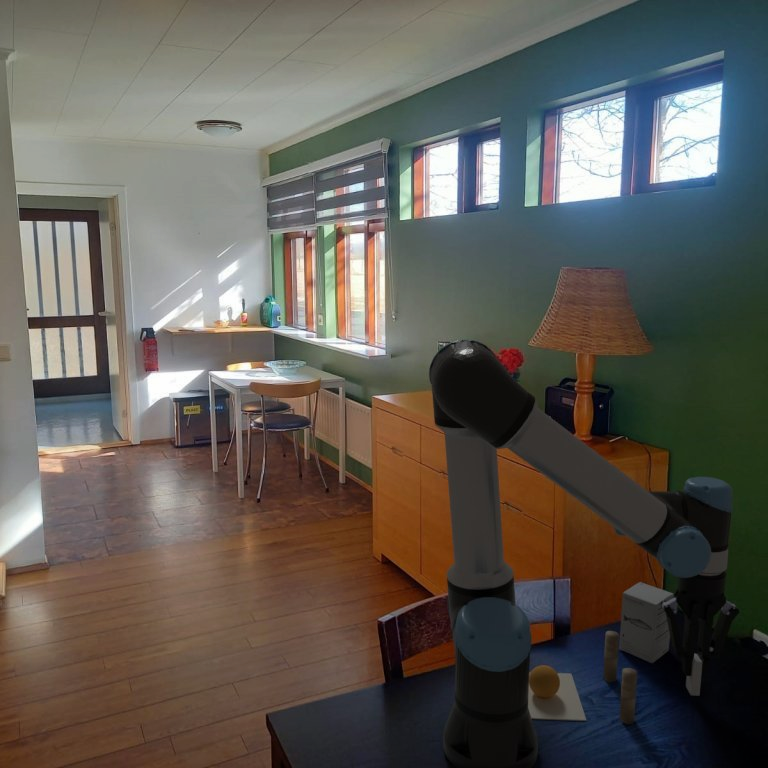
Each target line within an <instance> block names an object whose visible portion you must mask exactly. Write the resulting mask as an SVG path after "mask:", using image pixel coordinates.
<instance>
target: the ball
mask: <svg viewBox="0 0 768 768" xmlns="http://www.w3.org/2000/svg"><path fill="white" fill-rule="evenodd" d="M530 672H531V673H530V675H529V685H530V688H531V690H532V691H533V692H534V693H535V694H536V695H537V696H539V697H542V698H549V697H552V696H554V695H555V694H556V693H557V691H558V690H559V687H560V679H559V676H558V674H557V673H558V672H557V671H556V670H555V669H554V668H553V667H551V666H549V665H545V664H541V665H538V666H535V667H533V669H532V670H531V671H530Z"/></svg>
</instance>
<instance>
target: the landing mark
mask: <svg viewBox="0 0 768 768" xmlns="http://www.w3.org/2000/svg"><path fill="white" fill-rule="evenodd" d="M530 673H531V671H529V675H530ZM557 674H558V676H559V679H560V687H559V690H558V691H557V693H556V694H555V695H554V696H552V697H549V698H542V697H539V696H537V695H536V694H535V693H534V692H533V691H532V690H531V688H530V685H529V693H528V709H529V712H530V715H531V719H532V720H544V721H545V720H549V721H553V720H554V721H571V722H572V721H574V722H575V721H578V722H586V721H587V718H586V715H585V714H586V713H585V712H584V709H583V705H582V702H581V699H580V696H579V693H578V689H577V687H576V683H575V681H574V677H573V675H572V673H566V672H565V673H564V672H557Z"/></svg>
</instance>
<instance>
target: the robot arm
mask: <svg viewBox="0 0 768 768" xmlns="http://www.w3.org/2000/svg"><path fill="white" fill-rule="evenodd" d="M428 369H429V370H428V377H429V378H428V379H429V383H430V384H431V385H430V386H431V391H432V392H431V393H432V407H433V421H434V425H435V427H437V428H438V429H439V430H440V431H442V433H443V434H444V443H445V444H444V445H445V454H446V455H445V457H446V471H447V472H446V473H447V483H448V494H449V495H448V497H449V499H448V500H449V508H450V509H449V511H450V521H451V522H450V523H451V535H452V536H451V537H452V549H453V561H454V563H453V564H452V565H451V566H450V567H449V568H448V569H447V572H446V581H447V582H446V585H447V599H446V604H447V605H446V606H447V612H448V616H449V619H450V627H451V634H452V642H453V649H454V662H455V663H454V666H455V669H454V673H455V674H454V700H453V705H452V708H451V710H450V713H449V715H448V717H447V720H446V722H445V725H444V728H443V737H442V739H443V740H442V742H443V744H442V745H443V746H442V748H443V751H444V755H445V756H446V757H447V759H448V760H449V762H450V763H451V764H452V765H453V766H454V767H455V768H533V767H534V766H535V764H536V761H537V759H538V750H539V749H538V747H539V740H538V735H537V732H536V728H535V725H534V722H533V719H531V715H530V712H529V709H528V693H529V672H530V666H531V665H530V664H531V663H530V662H531V661H530V660H531V649H532V641H533V640H532V639H533V638H532V630H531V624H530V620H529V618H528V616H527V614H526V612H525V611H524V610H523V609H522V608H521V607H519V606H518V605H517V604H516V593H515V592H516V591H515V576H514V569H513V568H512V566H511V565H510V564H508V563H507V562H505V559H504V558H505V557H504V543H503V528H502V527H503V526H502V525H503V524H502V512H501V511H502V508H501V498H500V497H501V496H500V495H501V494H500V481H499V479H500V477H499V462H498V461H499V460H498V450H501V449H508V450H509V451H510V452H512V453H514V455H516V456H517V457H518V458H520V459H522V461H525V462H526V464H528V465H530V466H531V467H532V468H533V469H535V470H537V471H538V472H539V473H540V474H542V475H543V476H544V477H545V478H547V479H549V480H550V481H551V482H553V484H555V485H557V486H558V487H559V488H561V489H562V490H563V491H565V492H566V493H567V494H569V496H571V497H573V498H574V499H575V500H576V501H578V502H580V503H581V504H582V505H583V506H585V507H586V508H588V509H589V510H591V511H592V512H593V513H594V514H596V515H597V516H599V517H600V518H601V519H602V520H604V522H605V521H606V522H607V523H608V524H609V525H611V526H612V527H613V530H614V532H615V533H616V534H617V535H618V536H623V537H625V536H626V537H627V538H628V539H629V540H631V541H633V543H635V544H636V545H637V546H638V547H640V548H641V550H644V551H645V552H646V553H648V554H649V555H650V556H652V557H653V558H654V559H655V560H656V561H658V563H659V566H660V567H661V568H663V569H665V570H666V571H667V572H668V573H669V574H670V575H672V576H674V577H677V589H676V591H675V593H673V594H674V597H673V599H671V600H669V601H665V600H663V601H661V603H660V604H661V606H662V608H663V609H664V611H665V612H666V617H667V622H668V627H669V632H670V642H671V648H672V650H673V651H674V653H675V655H676V656H677V658H682V664H681V665H682V666H681V670H682V672H683V674H684V676H686V678H685V679H686V680H685V688H686V689H687V691H688V694H689V695H690V696H694V697H695V696H697V697H698V696H700V694H701V685H702V684H701V681H702V677H706V675H707V674H708V664H710V663H711V662H712V660H711V659H712V658H715V659H718V658H719V657H720V656H721V653H722V650H723V648H724V645H725V642H726V641H727V640H726V639H727V636H728V633H729V631H730V628H731V625H732V623H733V621H734V619H736V617H737V616H738V615H739V614H740V609H738V607H737V606H736V605H735V603H734V602H733V601H728V600H727V597H726V595H725V591H726V581H727V579H726V578H727V572H726V570H727V568H728V561H729V560H728V557H729V542H730V530H731V522H732V514H733V511H734V510H733V488H732V487H731V485H730V484H729V483H727V482H726V481H725V480H722V479H719V478H716V477H710V476H696V477H690V478H688V479H687V480H686V481H685V483H684V487H683V490H677V491H669V490H668V491H664V490H663V491H655V490H654V491H652V490H647V489H645V487H643V486H641V485H640V484H639V483H637V482H636V481H635V480H634V479H632V478H631V477H630V476H629V475H627V474H626V473H624V472H623V471H622V470H620V469H619V468H617V467H616V466H615V465H614V464H612V463H611V462H610V461H608V460H607V459H606V458H605V457H603V456H602V455H601V454H599V453H598V452H597V451H596V450H594V449H593V448H591V446H588V445H587V444H586V443H585V442H584V441H583V440H581V439H579V438H578V437H577V436H576V435H574V434H573V433H571V432H570V431H569V430H568V429H567V428H565V427H564V426H563V425H561V424H560V423H559V422H557V421H556V420H555V419H553V418H552V417H551V416H549V415H548V414H546V413H545V412H544V411H543V410H541V409H540V408H539V406H538V400H537V398H536V397H535V396H534V395H533V394H532V393H530V392H529V391H528V390H527V389H525V388H524V387H523V386H522V385H521V384H519V382H518V381H517V380H516V379H515V378H514V377H513V376H512V375H511V374H510V372H509V371H508V370H507V369H506V368H505V366H504V365H503V363H502V362H501V361H500V359H498V358H497V355H496V354H495V353H494V352H493V350H492V349H491V348H490V347H489V346H487V345H486V344H484V343H482V342H479V341H478V340H473V339H457V340H454V341H451V342H449V343H446V344H444V346H442V347H441V348H440V349H439V350H438V351H437V352H436V354H435V355H434V356H433V358H432V361H431V363H430V365H429V368H428ZM678 606H679V607H680V609H681V610H682V612H683V613H684V614H683V616H684V626H683V638H681V637H682V636H681V632H680V628H679V622H678V617H677V615H676V614H677V613H678ZM719 611H720V613H719ZM718 613H719V615H718V617H717V619H716V624H715V626H714V617H716V615H717V614H718ZM697 626H698V627H697ZM713 626H714V629H713ZM697 628H698V635H697ZM712 629H713V631H712ZM696 635H697V636H698V637H696ZM696 638H698V639H697V650H696V651H697V653H695V647H696Z"/></svg>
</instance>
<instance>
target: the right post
mask: <svg viewBox="0 0 768 768" xmlns="http://www.w3.org/2000/svg"><path fill="white" fill-rule="evenodd" d="M621 672H622V673H621V688H620V701H619V702H620V705H619V720H620V722H621V723H623V724H626V725H632V724H633V723H634V722H635V716H636V715H635V714H636V713H635V712H636V699H637V698H636V697H637V696H636V695H637V683H638V671H637V670H636V669H634V668H631V667H624V668H622V670H621Z"/></svg>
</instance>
